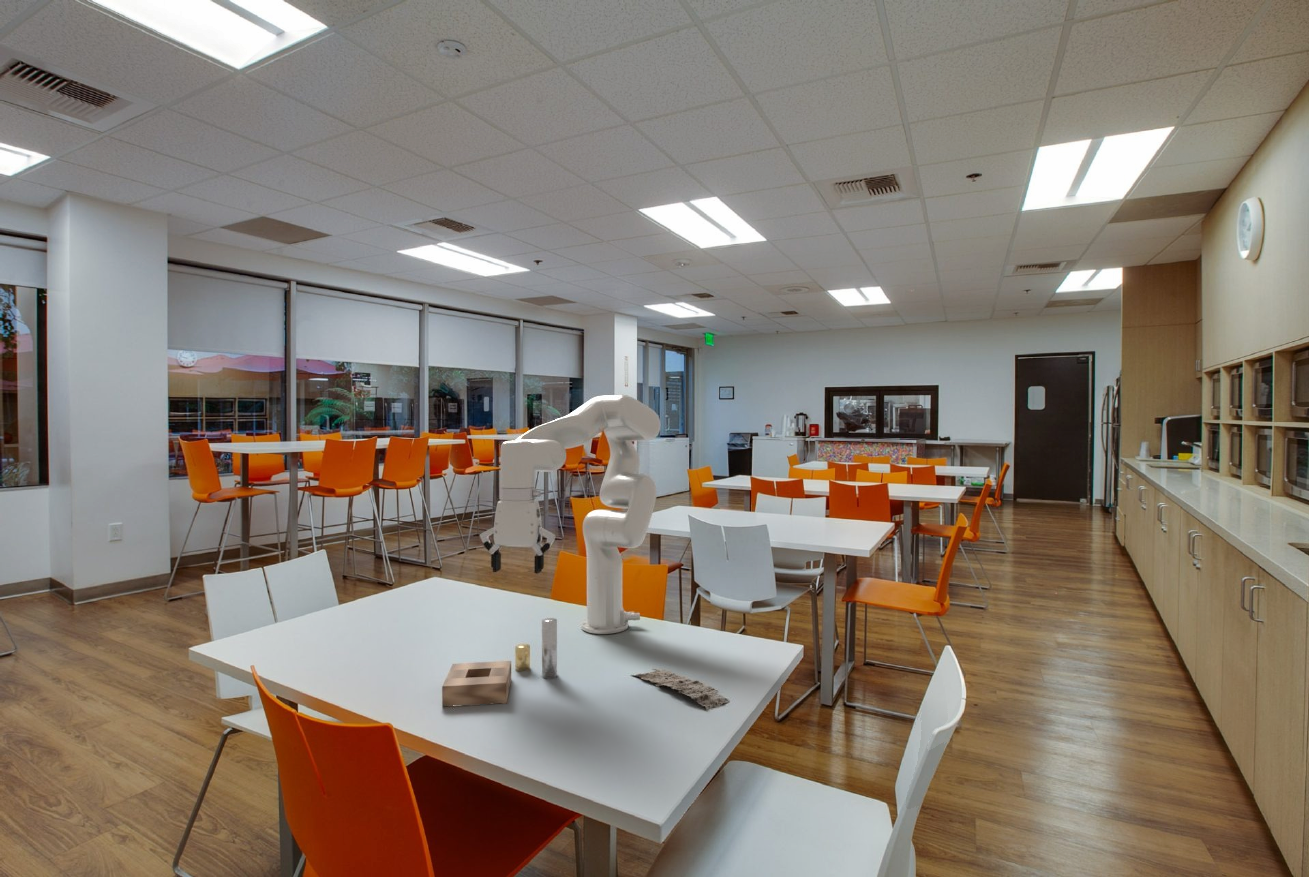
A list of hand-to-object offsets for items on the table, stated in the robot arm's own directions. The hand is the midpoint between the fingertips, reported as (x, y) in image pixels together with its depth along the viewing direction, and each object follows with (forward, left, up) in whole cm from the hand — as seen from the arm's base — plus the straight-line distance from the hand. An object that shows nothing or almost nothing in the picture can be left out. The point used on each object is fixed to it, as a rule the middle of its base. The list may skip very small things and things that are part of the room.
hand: (517, 571), depth 144 cm
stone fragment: (-33, +17, -22) cm, 43 cm away
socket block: (+7, +14, -21) cm, 26 cm away
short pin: (-1, +2, -21) cm, 21 cm away
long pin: (-7, +7, -21) cm, 23 cm away
